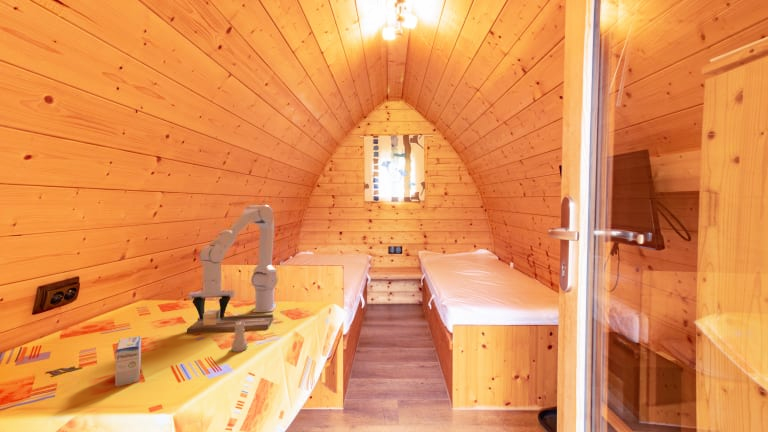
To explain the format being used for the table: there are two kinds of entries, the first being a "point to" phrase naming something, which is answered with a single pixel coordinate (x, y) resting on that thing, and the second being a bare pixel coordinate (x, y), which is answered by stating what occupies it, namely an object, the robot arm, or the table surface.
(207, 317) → the block
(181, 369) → the table surface
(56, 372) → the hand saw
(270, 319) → the walnut board
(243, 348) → the rook chess piece
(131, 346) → the medicine box
